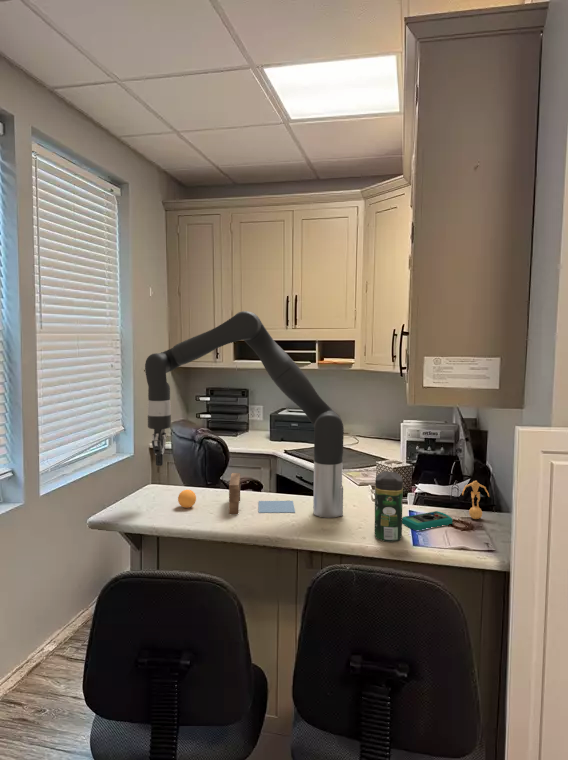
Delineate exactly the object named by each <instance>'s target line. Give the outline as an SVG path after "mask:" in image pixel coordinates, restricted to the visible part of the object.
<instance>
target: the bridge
mask: <svg viewBox="0 0 568 760" xmlns="http://www.w3.org/2000/svg"><path fill="white" fill-rule="evenodd" d="M228 501H229V502H228V514H238V513H240V509H239V508H240V507H239V505H240V502H241V473H239V472H232V473H231V475H230V479H229V484H228ZM239 501H240V502H239ZM238 515H239V514H238Z"/></svg>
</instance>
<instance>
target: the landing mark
mask: <svg viewBox="0 0 568 760" xmlns="http://www.w3.org/2000/svg"><path fill="white" fill-rule="evenodd" d="M258 513H259V514H275V513H276V514H280V513H282V514H283V513H284V514H289V513H290V514H293V513H294V514H295V513H296V509H295V504H294V501H293V500H258Z"/></svg>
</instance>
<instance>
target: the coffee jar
mask: <svg viewBox="0 0 568 760" xmlns="http://www.w3.org/2000/svg"><path fill="white" fill-rule="evenodd" d="M374 484H375V485H374V536H375V539H377V540H380V541H383V542H389V543H392V542H398V541H400V540H401V539H402V537H403V524H402V518H403V504H404V503H403V499H404V498H403V494H404V493H403V492H404V490H403V489H404V479H403V477H402V476H401V475H400V474H399V473H398V472H397V471H386V470H385V471H382V472H380V473H378V474H377V475H376V477H375V482H374Z"/></svg>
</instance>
